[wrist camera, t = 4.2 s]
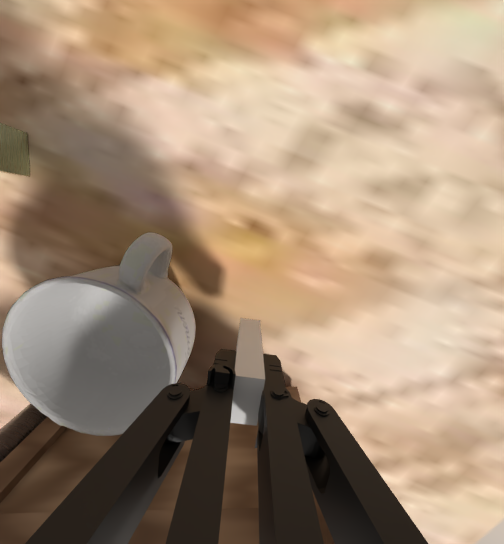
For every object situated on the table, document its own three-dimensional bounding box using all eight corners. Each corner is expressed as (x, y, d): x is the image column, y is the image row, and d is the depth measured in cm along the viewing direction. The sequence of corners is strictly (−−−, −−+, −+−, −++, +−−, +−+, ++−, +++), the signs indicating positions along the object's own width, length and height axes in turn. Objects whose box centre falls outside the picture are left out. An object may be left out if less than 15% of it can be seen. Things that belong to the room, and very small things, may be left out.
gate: (77, 412, 23) (-78, 585, 12) (72, 392, 23) (-94, 553, 12) (296, 407, 23) (336, 577, 12) (296, 386, 23) (339, 545, 12)
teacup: (160, 383, 23) (113, 466, 15) (64, 319, 22) (-41, 376, 14) (248, 280, 21) (246, 317, 13) (148, 199, 19) (77, 187, 11)
